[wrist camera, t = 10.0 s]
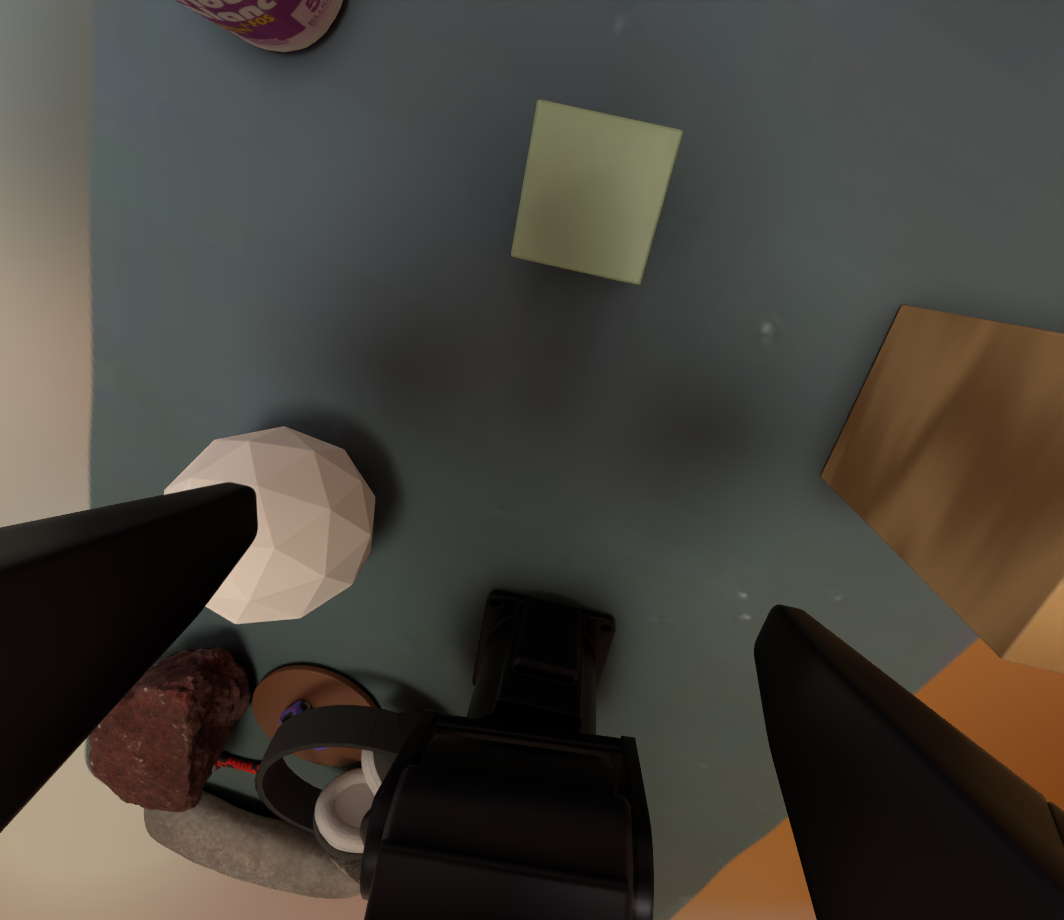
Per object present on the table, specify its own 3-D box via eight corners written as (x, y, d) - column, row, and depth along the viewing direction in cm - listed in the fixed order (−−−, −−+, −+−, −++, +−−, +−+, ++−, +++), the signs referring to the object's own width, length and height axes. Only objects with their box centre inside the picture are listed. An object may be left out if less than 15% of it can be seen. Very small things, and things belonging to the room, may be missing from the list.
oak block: (989, 512, 20) (1316, 730, 11) (819, 476, 20) (1000, 660, 11) (1100, 343, 17) (1667, 448, 8) (900, 304, 18) (1232, 363, 8)
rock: (98, 728, 21) (250, 813, 24) (205, 611, 26) (321, 692, 29) (37, 762, 27) (167, 828, 29) (136, 659, 32) (239, 724, 34)
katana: (267, 753, 32) (261, 763, 32) (273, 770, 33) (267, 780, 32) (94, 732, 34) (85, 741, 33) (104, 748, 34) (95, 757, 34)
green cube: (631, 279, 18) (640, 286, 15) (527, 255, 18) (510, 256, 15) (664, 156, 17) (684, 129, 13) (549, 131, 17) (537, 97, 13)
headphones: (525, 921, 32) (216, 833, 26) (526, 842, 35) (256, 750, 30) (625, 861, 28) (286, 742, 22) (614, 780, 31) (322, 660, 26)
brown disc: (330, 776, 32) (318, 800, 31) (232, 702, 30) (214, 724, 29) (409, 728, 29) (400, 751, 28) (306, 643, 27) (291, 664, 26)
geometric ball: (370, 494, 27) (319, 649, 23) (206, 436, 23) (114, 609, 19) (426, 445, 21) (371, 641, 17) (220, 357, 17) (91, 580, 13)
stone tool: (366, 892, 32) (350, 935, 33) (386, 836, 35) (370, 877, 37) (117, 811, 31) (114, 859, 33) (161, 762, 34) (156, 807, 36)
